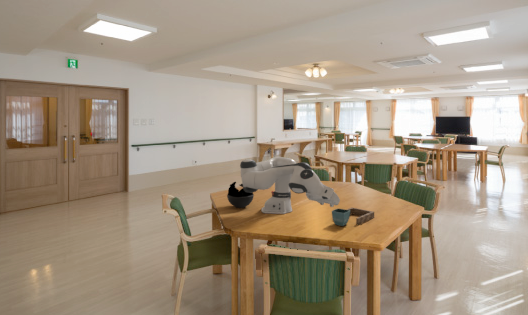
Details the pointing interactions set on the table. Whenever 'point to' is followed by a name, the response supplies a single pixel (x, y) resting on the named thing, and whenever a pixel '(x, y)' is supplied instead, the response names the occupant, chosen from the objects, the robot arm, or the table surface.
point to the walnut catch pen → (361, 215)
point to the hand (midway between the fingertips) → (327, 204)
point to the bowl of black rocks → (239, 196)
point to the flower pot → (340, 216)
